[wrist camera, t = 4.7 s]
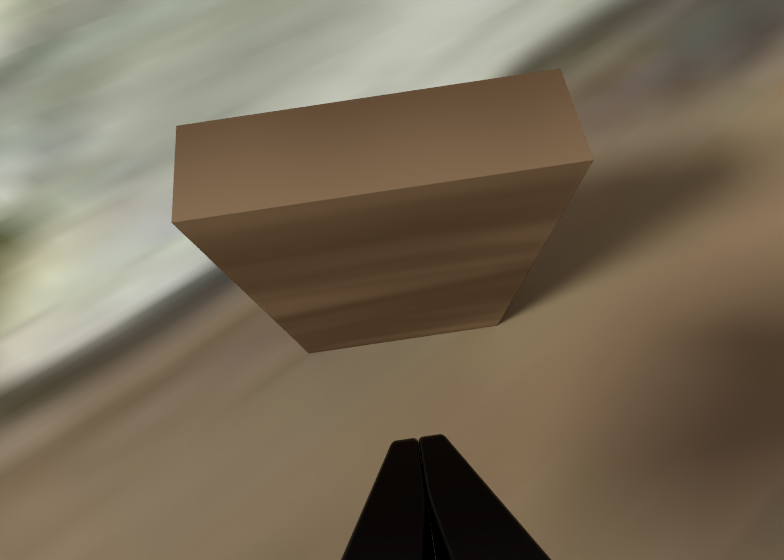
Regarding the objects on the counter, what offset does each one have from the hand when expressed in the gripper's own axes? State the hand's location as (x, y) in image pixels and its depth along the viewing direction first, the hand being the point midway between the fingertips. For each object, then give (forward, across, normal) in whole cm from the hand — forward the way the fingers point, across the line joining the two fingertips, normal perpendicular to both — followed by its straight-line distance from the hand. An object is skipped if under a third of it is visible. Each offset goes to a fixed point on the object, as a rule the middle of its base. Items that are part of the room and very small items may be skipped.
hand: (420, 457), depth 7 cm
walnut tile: (+10, 0, +2) cm, 10 cm away
